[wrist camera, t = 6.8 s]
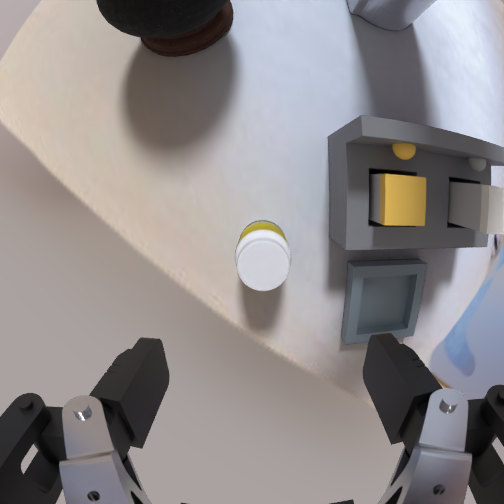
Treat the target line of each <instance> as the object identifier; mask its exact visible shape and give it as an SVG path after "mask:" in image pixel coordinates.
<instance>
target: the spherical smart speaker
mask: <svg viewBox="0 0 504 504" xmlns="http://www.w3.org/2000/svg"><path fill="white" fill-rule="evenodd" d="M97 4H98V7H99V10H100V12H101V14H102V15H103V16H104V18H105V19H106V20H107V22H108V23H110V24H111V25H112V26H114V27H115V28H117V29H118V30H120V31H121V32H124V33H127V34H130V35H133V36H136V37H141V40H142V42H143V43H144V44H145V46H146V47H147V48H148V49H150V50H151V51H152V52H154V53H157V54H159V55H163V56H173V57H177V56H185V55H189V54H193V53H196V52H199V51H201V50H204V49H206V48H207V47H209V46H211V45H213V44H214V43H215V42H217V41H218V40H219V39H220V38H221V37H222V36H223V35H224V34H225V33H226V32H227V30H228V29H229V27H230V26H231V23H232V20H233V8H232V4H231V2H230V0H97Z"/></svg>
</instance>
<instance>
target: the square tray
mask: <svg viewBox="0 0 504 504" xmlns="http://www.w3.org/2000/svg"><path fill="white" fill-rule="evenodd" d="M426 268H427V263H425V262H423V261H421V260H420V259H405V260H379V261H350V262H348V272H347V285H346V296H345V306H344V315H343V324H342V332H341V337H342V339H343V341H344V343H345V345H346V344H356V343H365V342H369V339H370V337H371V335H375V334H383V333H392V335H393V336H394V337H395V338H402V337H408V336H413V335H414V331H415V326H416V322H417V318H418V313H419V308H420V303H421V298H422V293H423V287H424V281H425V274H426Z"/></svg>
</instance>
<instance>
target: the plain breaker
mask: <svg viewBox="0 0 504 504" xmlns="http://www.w3.org/2000/svg"><path fill="white" fill-rule="evenodd" d="M447 222H449V223H453V224H456V225H460V226H463V227H466V228H470V229H473V230H476V231H479V232H482V233H485V234H504V188H501V187H496V186H490V185H482V184H471V183H459V182H449V200H448V220H447Z"/></svg>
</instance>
